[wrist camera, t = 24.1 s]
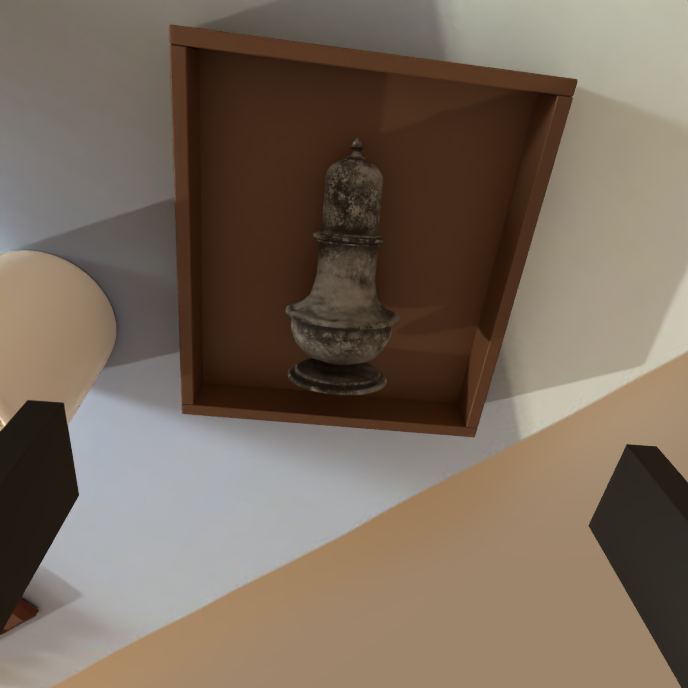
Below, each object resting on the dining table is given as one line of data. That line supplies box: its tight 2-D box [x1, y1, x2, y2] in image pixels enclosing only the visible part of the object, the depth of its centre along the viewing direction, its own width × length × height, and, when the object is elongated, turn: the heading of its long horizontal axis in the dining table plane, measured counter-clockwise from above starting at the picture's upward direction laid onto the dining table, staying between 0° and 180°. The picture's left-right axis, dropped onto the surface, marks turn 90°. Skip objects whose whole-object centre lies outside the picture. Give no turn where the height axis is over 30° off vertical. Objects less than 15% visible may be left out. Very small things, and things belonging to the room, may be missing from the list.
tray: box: [169, 25, 577, 437], centre depth 28 cm, size 19×17×3 cm
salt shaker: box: [286, 138, 400, 395], centre depth 26 cm, size 6×6×12 cm
